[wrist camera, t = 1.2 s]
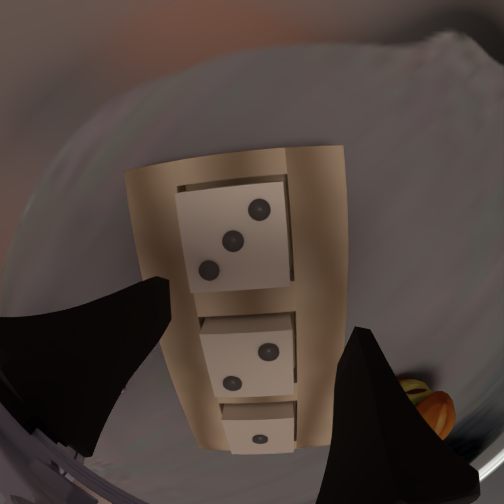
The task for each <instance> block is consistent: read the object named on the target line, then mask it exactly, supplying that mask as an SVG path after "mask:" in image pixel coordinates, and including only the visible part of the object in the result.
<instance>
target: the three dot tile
mask: <svg viewBox="0 0 504 504" xmlns="http://www.w3.org/2000/svg"><path fill="white" fill-rule="evenodd" d="M175 200H176V207H177V215H178V222H179V228H180V235H181V241H182V248H183V254H184V260H185V265H186V271H187V277H188V282H189V287H190V292H191V293H202V292H220V291H236V290H251V289H265V288H277V287H290V269H289V253H288V238H287V224H286V211H285V198H284V187H283V181H270V182H259V183H248V184H238V185H229V186H220V187H212V188H204V189H196V190H189V191H184V192H180V193H175Z"/></svg>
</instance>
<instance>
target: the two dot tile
mask: <svg viewBox="0 0 504 504" xmlns="http://www.w3.org/2000/svg"><path fill="white" fill-rule="evenodd" d="M199 335H200V340H201V344H202V348H203V353H204V357H205V361H206V365H207V369H208V373H209V377H210V381H211V385H212V388H213V392H214V396H215V397H262V396H279V395H292V394H294V373H293V335H292V324H291V318H290V312H279V313H265V314H250V315H232V316H209V317H206V319H205V321H204V324H203V326H202V329H201V331H200V334H199Z"/></svg>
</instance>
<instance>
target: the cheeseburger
mask: <svg viewBox="0 0 504 504" xmlns="http://www.w3.org/2000/svg"><path fill="white" fill-rule="evenodd" d="M397 380H398V381H399V383H400V384H401V386H402V388H403V389H404V391H405V393H406V394H407V396H408V397H409V399H410V400H411V402H412V403H413V405H414V406H415V407H416V409H417V410H418V411H419V413H420V414H421V416H422V417H423V418H424V419H425V421H426V422H427V423H428V424H429V426H430V427H431V428H432V429H433V430H434V431H435V432H436V434H437V435H438V436H439V437H440V438H441V439H442V440H443V439H444V438H445V437H446V436H447V435H448V434H449V433H450V431H451V430H452V428H453V426H454V422H455V417H456V414H455V409H454V404H453V401H452V399H451V398H450V396H449V395H448V394H447V393H445V392H443V391H436V392H433V391H432V390H430V389H429V387H428V386H427V385H426V384H425V382H422V381H419V380H415V379H412V378H409V379H397Z"/></svg>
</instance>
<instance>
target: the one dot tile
mask: <svg viewBox="0 0 504 504" xmlns="http://www.w3.org/2000/svg"><path fill="white" fill-rule="evenodd" d="M221 420H222V424H223V427H224V430H225V434H226V437H227V440H228V443H229V447H230V450H231V453H232V454H274V453H290V452H294V413H293V402H292V401H283V402H267V403H224V408H223V414H222V419H221Z"/></svg>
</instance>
